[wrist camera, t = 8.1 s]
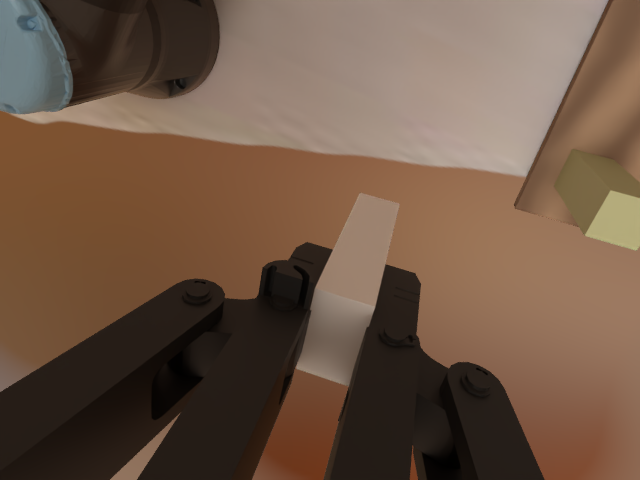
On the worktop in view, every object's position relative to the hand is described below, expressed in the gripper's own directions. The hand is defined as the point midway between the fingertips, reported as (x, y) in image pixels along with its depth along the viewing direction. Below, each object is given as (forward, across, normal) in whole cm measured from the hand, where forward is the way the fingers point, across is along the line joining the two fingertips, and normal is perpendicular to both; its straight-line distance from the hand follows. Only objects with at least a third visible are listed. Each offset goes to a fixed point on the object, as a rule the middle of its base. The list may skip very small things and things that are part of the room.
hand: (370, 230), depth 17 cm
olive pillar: (+33, +18, -4) cm, 38 cm away
